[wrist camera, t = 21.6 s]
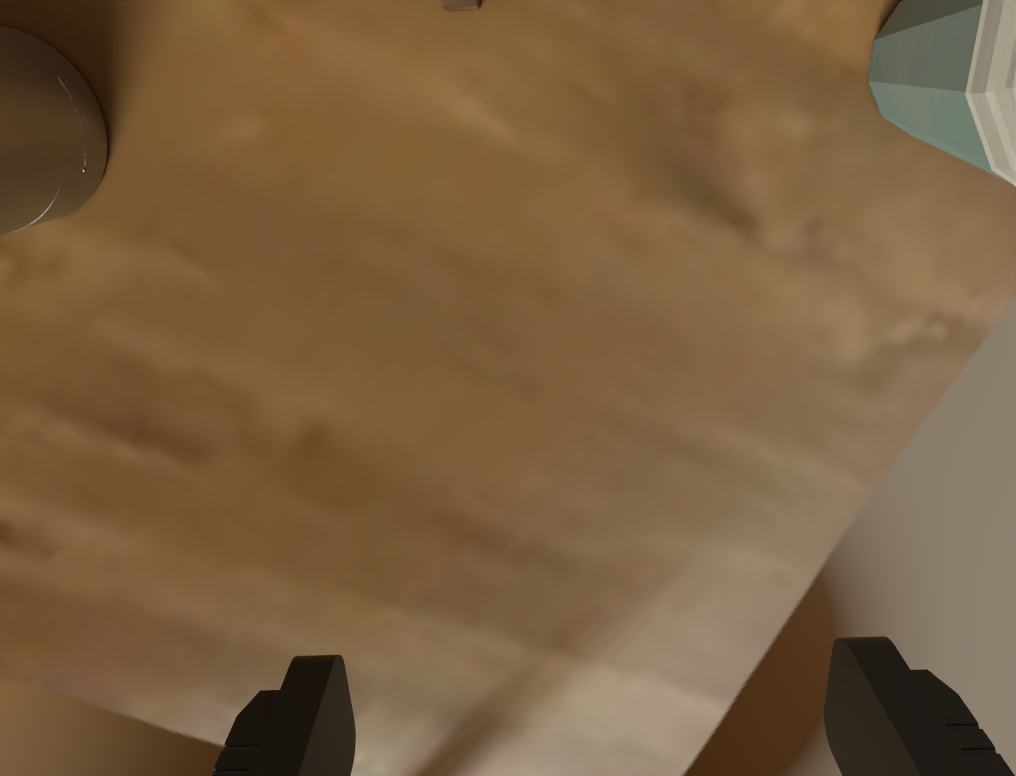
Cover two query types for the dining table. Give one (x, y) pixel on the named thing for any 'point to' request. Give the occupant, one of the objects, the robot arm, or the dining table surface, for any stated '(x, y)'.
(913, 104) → the disposable coffee cup
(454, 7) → the walnut bay
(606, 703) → the dining table surface
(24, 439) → the dining table surface
